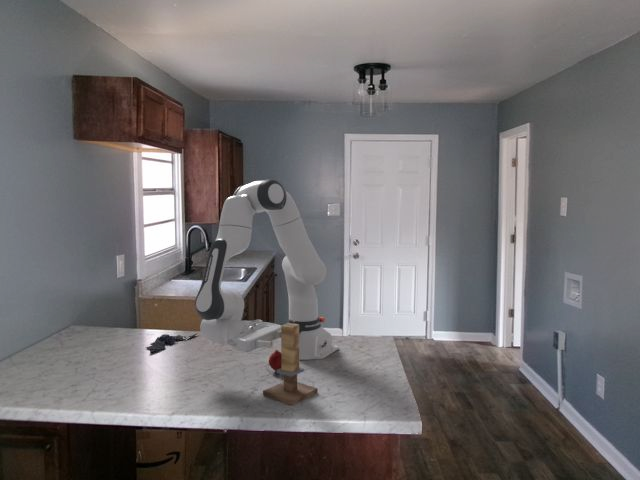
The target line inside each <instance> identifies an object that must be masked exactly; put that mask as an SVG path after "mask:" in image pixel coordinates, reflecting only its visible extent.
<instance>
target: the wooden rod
mask: <svg viewBox="0 0 640 480" xmlns="http://www.w3.org/2000/svg"><path fill="white" fill-rule="evenodd" d="M280 339H281V341H280V342H281V345H280V346H281V347H280V349H281V350H280V352H281V366H282V370H283V371H288V372H294V371H296V370H297V369H299V367H300V360H299V324H293V323H288V322H287V323H284V324H283V325H282V324H281V338H280Z"/></svg>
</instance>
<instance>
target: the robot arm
mask: <svg viewBox="0 0 640 480" xmlns="http://www.w3.org/2000/svg"><path fill="white" fill-rule="evenodd" d="M295 202H296V201H294V199H293V197H292V195H291V194H290V193H289V192H288V191H286V190H285V188H284V187H283V185H282V184H281V182H279V181H278V180H275V179H268V178H267V179H264V180H263V179H262V180H261V179H260V180H255V181H252V182H250V183H247V184H243V185H240V186H238V188H236V189H235V191H234V193H233V195H231V196H229V197H226V199H225V201H224V203H223V206H222V209H221V214H220V219H219V224H218V225H219V226H218V231H217V236H216V238H215V240H214V241H213V242H212V244H211V246H210V249H209V252H208V256H207V259H206V262H205V268H204V271H203V276H202V280H201V284H200V287H199V290H198V292H197V295H196V297H195V301H194V306H195V311H196V313H197V315H198V316H199V318H201V319H202V320H201V323H200V326H199V331H200V335H201V336H202V338H203V339H205V341H208V342H211V343H212V344H217V345H221V346H230V347H232V349H234V350H237V351H240V352H244V353H251V352H252V351H255V350H257V349H263V348H264V349H265V348H267V349H270V348H272V347H273V346H274V345H273V342H274V341H276V340H278V339H281V326H282V324H281V325H280V324H277V323H273V322H269V321H268V322H267V321H263V319H262V320H261V319H253V320H242V319H243V316H244V312H245V306H246V303H245V298H244V296H243V295H242V294H241V293H240V292H238V291H236V290H229V289H222V288H221V286H222V282H223V281H222V280H223V276H224V272H225V267H226V264H227V262H228V261H229V260H230V259H231V258H232V257H235V256H237V255H239V254H241V253H243V252H245V251H246V250H247V249H248V247H249V246H250V243H251V240H252V234H253V233H252V231H253V218H254V216H255V214H260V213H264V212H265V213H267V215H268V216H269V220H270V222H271V226H272V228H273V232H274V234H275V236H276V237H275V238H276V240H277V242H278V246H279V247H280V248H281V250H282V251H283V253H284V254H285V256H284V257H283V259H282V261H281V267H282V268H281V269H282V270H283V273H284V278H285V284H286V290H287V294H288V295H287V296H288V318H287V323H293V324H299V361H300V360H306V361H307V360H323V359H325V358H327V357H329V356H330V355H331V354H333V353H334V352H336V351H337V350H339V345H337V344H334V343H333V337H332V334H331V332H329V331H328V330H326V329H325V328H323V326H322V325H321V323H326V318H325V317H322V316H319V307H318V306H319V298H318V294H317V292H316V289H315V285H316V286H317V285H319V284H321V283H322V282H323V281H324V280H325V278H326V276H327V267H326V264H325V263H324V262H323V261H322V259H321V258H320V256H319V254H318V253H317V252H318V251H316V248H315V246H314V245H313V243H312V241H311V239H310V237H309V234H308V233H307V230H306V227H305V225H304V222H303V219H302V216H301V213H300V211H299V208H298V207H297V205H296V204H297V203H295Z"/></svg>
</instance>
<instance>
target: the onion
mask: <svg viewBox="0 0 640 480" xmlns="http://www.w3.org/2000/svg"><path fill="white" fill-rule="evenodd" d="M268 365H269V366H270V368H271V369H272V370H274V371H275V372H276V373H277V369H280V368H282V366H281V351H279V350H278V348H275V350H274V352H273V353H271V354H270V355H269V358H268Z"/></svg>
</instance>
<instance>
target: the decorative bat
mask: <svg viewBox="0 0 640 480" xmlns="http://www.w3.org/2000/svg"><path fill="white" fill-rule="evenodd" d="M198 334H199V332H197V333H195V334H192V335H188V336H189V337H190V338H189V339H188V338H186V336H185V335H184V336H183V335H180V334H177V335H176V336H175V335H170V334H166V333H165V334H162V335H159V336H157V338H155V340H154V341H153V342H151V343H150V344H149V346H147V347H145V349H147V350H149V353H152V352H153V353H154V352H155V353H156V352H161V351H165V350H166V348H167V347H166V344H167V346H170V345H171V346H172V345H175V343H178V341H179V342H183V340H186V339H187V341H189V340H191V339H192V338H194V337H195V336H196V335H198ZM183 337H184V338H186V339H183Z"/></svg>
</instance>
